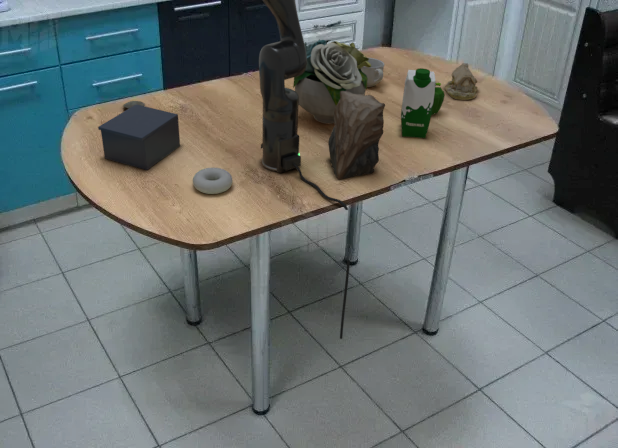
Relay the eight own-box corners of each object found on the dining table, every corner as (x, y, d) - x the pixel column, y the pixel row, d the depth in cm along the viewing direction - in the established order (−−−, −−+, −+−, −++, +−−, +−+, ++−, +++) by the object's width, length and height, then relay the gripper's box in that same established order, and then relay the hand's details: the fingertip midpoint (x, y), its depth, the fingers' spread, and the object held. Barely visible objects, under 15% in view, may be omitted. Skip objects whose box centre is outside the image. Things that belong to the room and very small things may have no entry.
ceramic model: (442, 83, 234) (447, 55, 228) (474, 85, 234) (480, 57, 228) (448, 99, 222) (452, 70, 217) (481, 101, 222) (487, 72, 217)
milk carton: (398, 137, 197) (407, 72, 186) (398, 124, 205) (406, 61, 193) (428, 140, 197) (439, 75, 185) (427, 127, 204) (437, 63, 193)
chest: (147, 170, 175) (144, 139, 170) (104, 158, 179) (100, 128, 174) (180, 146, 187) (178, 117, 182) (139, 135, 191) (136, 107, 186)
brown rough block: (326, 157, 185) (330, 88, 174) (370, 154, 187) (377, 87, 176) (335, 179, 175) (341, 108, 164) (382, 177, 177) (390, 107, 166)
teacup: (346, 79, 234) (348, 57, 229) (375, 76, 237) (377, 54, 232) (360, 94, 223) (362, 71, 218) (390, 92, 226) (393, 69, 221)
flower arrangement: (324, 144, 192) (329, 61, 178) (271, 113, 207) (272, 35, 194) (385, 123, 205) (394, 45, 192) (332, 95, 221) (337, 21, 207)
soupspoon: (143, 105, 210) (122, 108, 208) (141, 95, 208) (120, 98, 206) (159, 132, 193) (136, 136, 191) (157, 121, 191) (134, 125, 189)
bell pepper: (412, 115, 211) (416, 85, 205) (417, 105, 217) (421, 76, 212) (438, 119, 209) (443, 89, 203) (443, 109, 215) (448, 80, 210)
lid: (142, 141, 169) (141, 138, 169) (98, 129, 174) (97, 126, 173) (178, 116, 182) (177, 114, 182) (136, 106, 186) (136, 104, 186)
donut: (231, 197, 166) (234, 176, 174) (231, 185, 164) (233, 165, 172) (190, 196, 165) (195, 175, 173) (189, 184, 163) (194, 164, 171)
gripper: (171, -65, 181) (176, 0, 191) (214, -60, 177) (216, 7, 187) (186, -70, 187) (190, -6, 197) (228, -64, 183) (229, 0, 193)
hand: (203, 0), depth 192 cm, fingers closed
